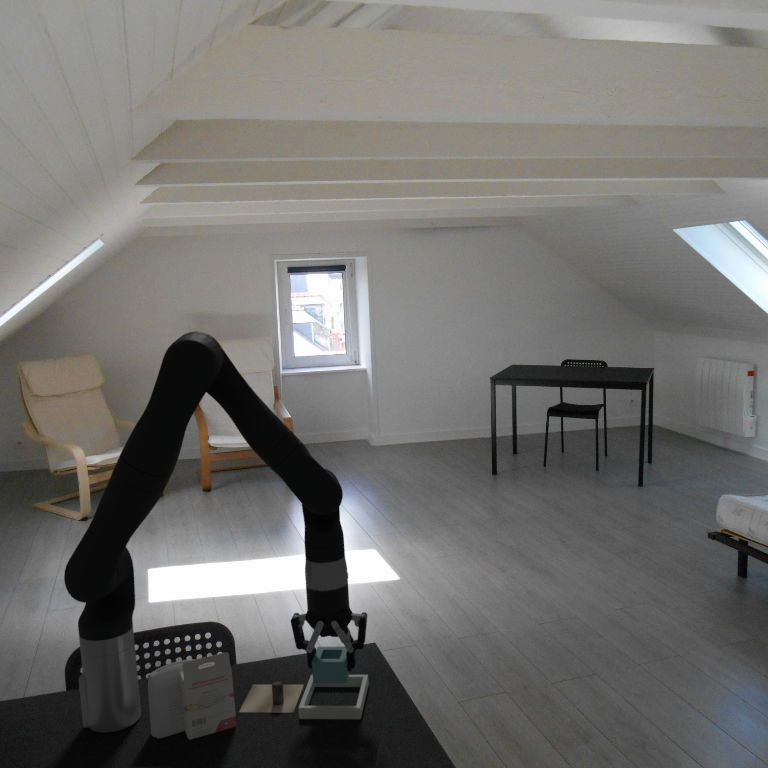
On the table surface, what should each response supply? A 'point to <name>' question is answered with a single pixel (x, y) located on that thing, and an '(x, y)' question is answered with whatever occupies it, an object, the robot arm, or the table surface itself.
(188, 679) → the ink cartridge box
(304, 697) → the tray
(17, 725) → the table surface
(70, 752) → the table surface
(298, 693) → the peg board
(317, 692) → the table surface
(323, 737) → the table surface
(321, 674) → the teal hollow block
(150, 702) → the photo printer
